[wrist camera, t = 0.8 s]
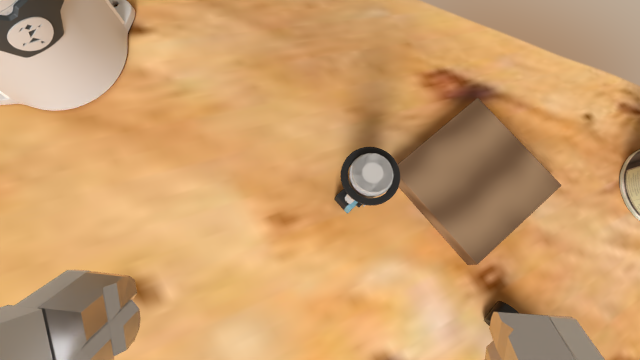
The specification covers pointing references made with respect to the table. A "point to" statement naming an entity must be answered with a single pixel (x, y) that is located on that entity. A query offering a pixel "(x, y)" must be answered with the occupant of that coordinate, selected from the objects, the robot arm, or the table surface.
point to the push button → (368, 178)
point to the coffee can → (631, 183)
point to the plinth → (475, 182)
